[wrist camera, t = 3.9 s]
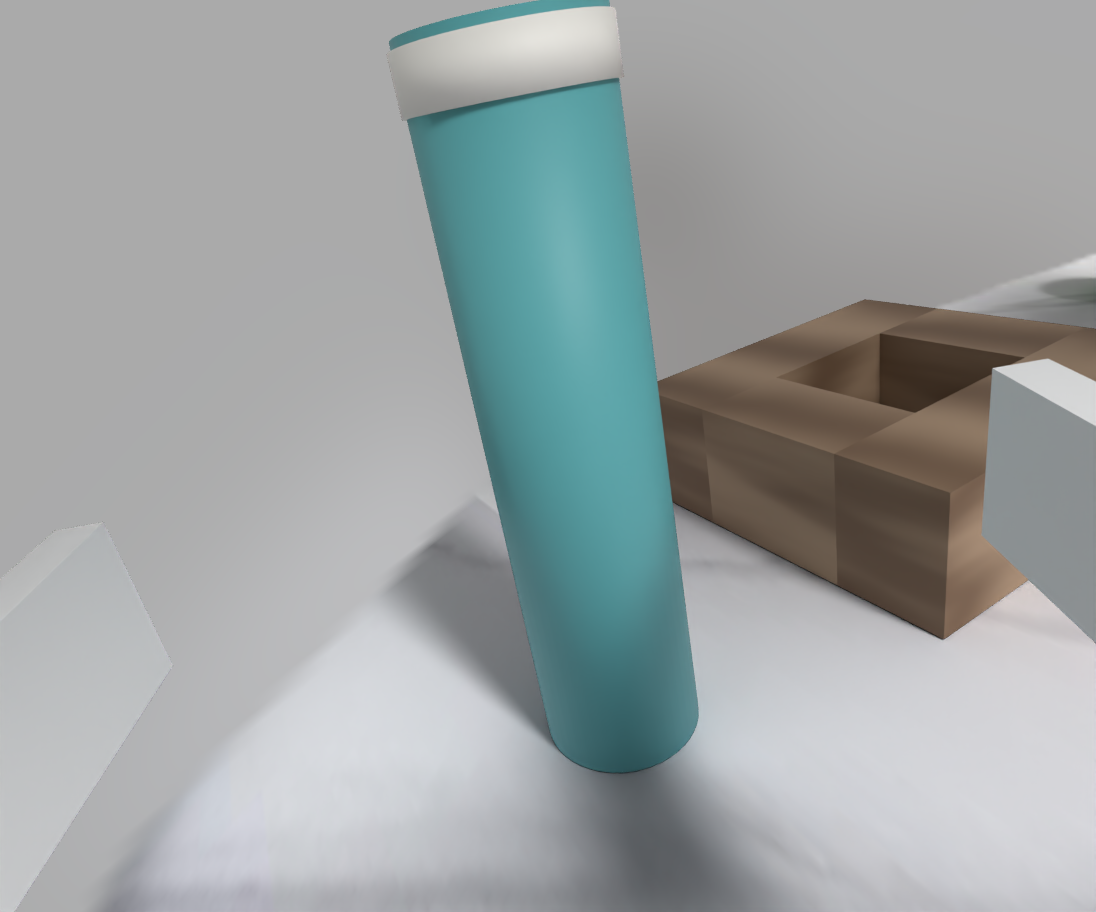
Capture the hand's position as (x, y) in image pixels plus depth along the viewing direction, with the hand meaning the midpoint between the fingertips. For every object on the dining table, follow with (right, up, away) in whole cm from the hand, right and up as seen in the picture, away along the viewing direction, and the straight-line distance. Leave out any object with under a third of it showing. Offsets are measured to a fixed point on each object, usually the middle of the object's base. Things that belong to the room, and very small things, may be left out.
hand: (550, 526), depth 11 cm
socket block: (+14, 0, +20) cm, 24 cm away
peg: (+2, -6, +11) cm, 13 cm away
